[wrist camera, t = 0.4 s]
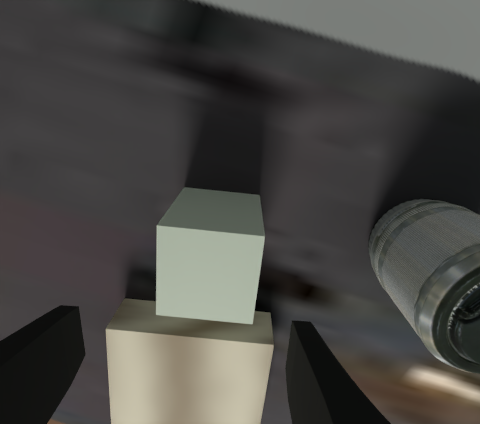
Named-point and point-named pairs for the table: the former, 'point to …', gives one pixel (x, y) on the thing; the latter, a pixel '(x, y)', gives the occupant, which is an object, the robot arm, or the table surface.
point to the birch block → (186, 367)
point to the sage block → (210, 256)
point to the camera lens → (433, 275)
